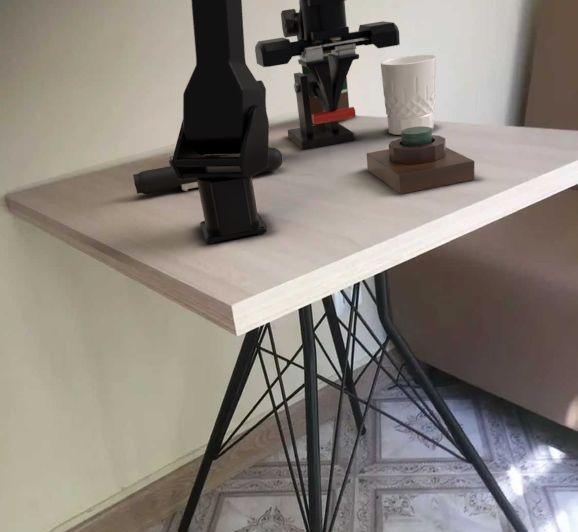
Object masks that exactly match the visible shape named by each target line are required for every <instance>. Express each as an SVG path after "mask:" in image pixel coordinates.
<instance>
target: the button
mask: <svg viewBox="0 0 578 532" xmlns="http://www.w3.org/2000/svg"><path fill="white" fill-rule="evenodd" d="M432 135H433V129H432V128H430V127H411V128H407V129H404V130H402V131H401V135H400V138H401V142H402V146H421V145H427V144H430V143H432Z"/></svg>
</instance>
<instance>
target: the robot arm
mask: <svg viewBox="0 0 578 532" xmlns="http://www.w3.org/2000/svg"><path fill="white" fill-rule="evenodd" d="M190 1H191V2H190V3H191V12H192V15H191V16H192V26H193V39H194V51H195V66H194V69H193V71H192V72H191V75H190V78H189V80H188V82H187V84H186V86H185V89H184V91H183V94H182V106H183V107H182V120H181V125H180V128H179V133H178V137H177V140H176V144H175V147H174V151H173V155H172V156H173V159H172V166H173V169H174V171H175V173H176V175H177V177H178V179H179V180H183V179H197V183H198V187H197V188H198V193H199V199H200V204H201V208H202V214H203V219H204V220H202V221H200V223H199V224H200V228H201V230H202V233H203V237H204V240H205V242H206V243H207V244H212V243H213V244H214V243H218V242H223V241H227V240H233V239H239V238H242V237H248V236H253V235H257V234H258V235H259V234H263V233H266V232H268V228H267V225H266V223H265V222H264V220H263V219H262V217H261V216H260V213H259V212H258V208H257V202H256V195H255V189H254V183H253V182H254V181H253V177H255V176H256V175H258V174H260V173H259V172H261V171H262V170H264V169H265V168H267V167H268V148H269V147H270V146H269V142H270V141H269V140H270V135H269V134H270V123H269V117H268V113H267V103H266V101H267V99H266V98H267V88H266V86H265V83H264V81H263V80H259V79H258V80H257V79H256V77H255V76H254V74H253V73H252V71H251V70H250V68H249V66H248V65H247V61H246V53H245V51H246V49H245V37H244V36H245V34H244V17H243V5H242V4H243V1H242V0H190ZM345 1H346V0H299V1H298V3H299V4H298V6H299V10H298V11H296V8H289V9H284V10H281V12H280V19H281V28H282V34H283V36H284V37H276V38H270V39H265V40H258V41H257V43H256V45H255V46H254V53H255V59H256V64H257V65H259V66H261V67H263V68H269V67H275V66H281V65H287V64H289V62H290V61H291V60H292V59H293V58H294V57H299V59H297V62H298V65H301V66H302V65H303V66H305V67H308V68H309V69H310V71H311V72H312V74H313V76H314V77H315V79H316V81H317V83H318V85H319V87H320V90H321V92H322V94H323V97H324V99H325V101H326V104H327V106H328V108H329V110H330V111H335V110H337V106H338V103H339V99H340V96H341V92H342V89H343V85H344V82H345V79H346V76H348V74H349V72H350V69H351V66H352V64H353V61H355V60H359V59H360V54H359V53H356V50H357V47H359V46H371V45H373V46H374V47H375V48H377V49H384V48H390V47H396V46H399V45H401V43H400V30H399V27H398V25H397V24H396V23H395V22H393V21H384V20H382V21H375V22H370V23H364V24H359V27H358V30H357V31H351V32H350V27H349V26H348V25H347V13H346V12H347V11H346V2H345ZM292 37H296V39H297V40H296V41H290V39H289V38H292ZM335 37H340V38H339V39H333V40H331V38H335ZM315 41H320V42H318V43H314V42H315ZM330 50H331V51H332V54H328V55H327V56H328V60H326V59H324V58H323V52H324V51H330ZM329 66H330V69H329ZM239 154H240V156H239V157H205V158H204V155H239ZM261 173H262V172H261Z"/></svg>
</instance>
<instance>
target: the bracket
mask: <svg viewBox="0 0 578 532" xmlns="http://www.w3.org/2000/svg"><path fill="white" fill-rule="evenodd" d="M293 79H294V84H293V89H294V93H295V96H296V104H297V114H298V121H299V127H296V128H291V129H287V137H288V139H290V140H291V141H292V142H293V143H294V144H295V145H297V147H299V148H300V149H301V150H303V151H304V150H309V149H314V148H320V147H326V146H330V145H336V144H343V143H348V142H353V141H355V136H354V134H355V133H354V132H353V131H352V130H351V129H348V128H347V127H345V126H344V125H342V124H340V122H338V121H332V122H327V123H323V124H316V125H314V124H312V118H311V109H310V100H309V91H308V82H307V75H304V74H303V73H302V72H294V73H293ZM323 111H324V112H325V110H324V109H323Z"/></svg>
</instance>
